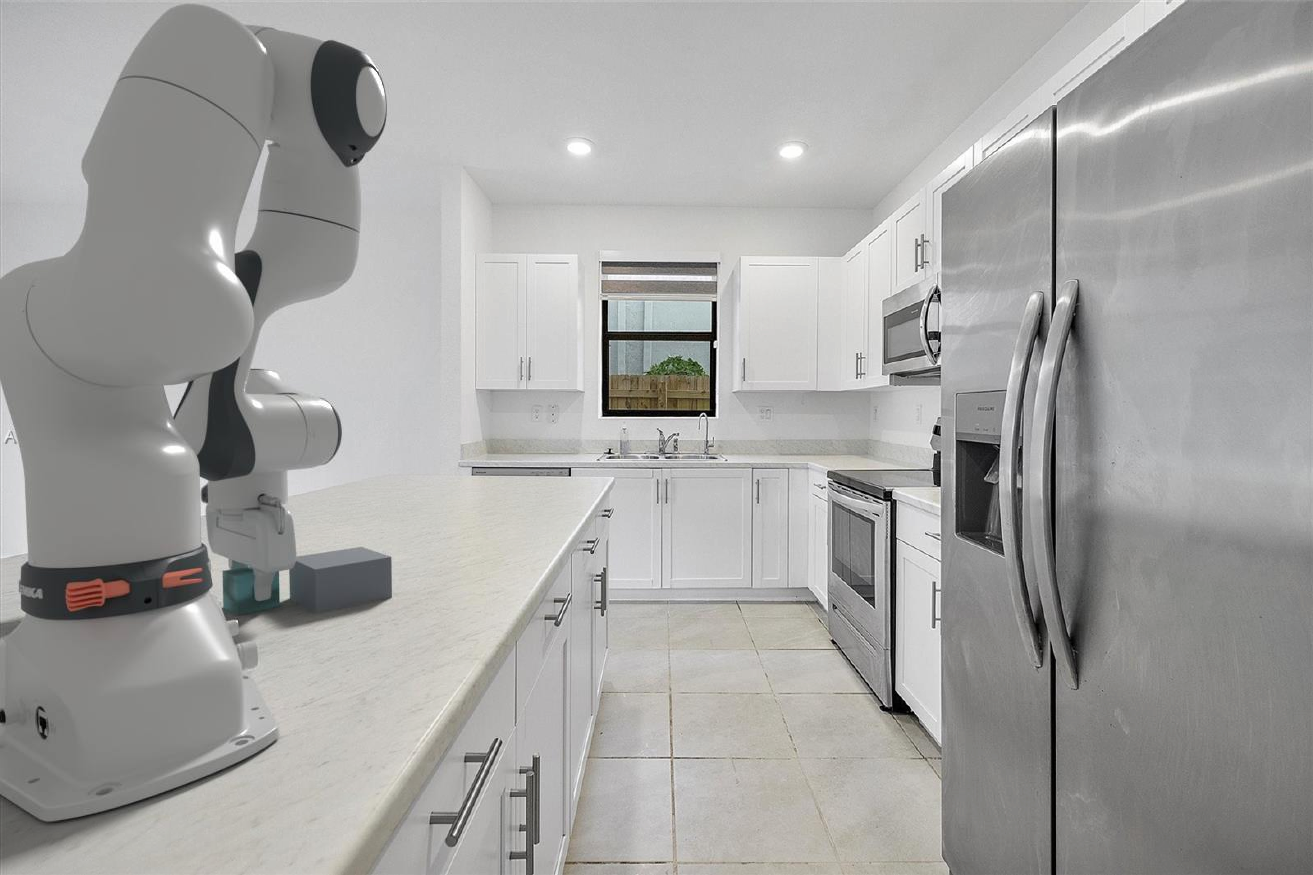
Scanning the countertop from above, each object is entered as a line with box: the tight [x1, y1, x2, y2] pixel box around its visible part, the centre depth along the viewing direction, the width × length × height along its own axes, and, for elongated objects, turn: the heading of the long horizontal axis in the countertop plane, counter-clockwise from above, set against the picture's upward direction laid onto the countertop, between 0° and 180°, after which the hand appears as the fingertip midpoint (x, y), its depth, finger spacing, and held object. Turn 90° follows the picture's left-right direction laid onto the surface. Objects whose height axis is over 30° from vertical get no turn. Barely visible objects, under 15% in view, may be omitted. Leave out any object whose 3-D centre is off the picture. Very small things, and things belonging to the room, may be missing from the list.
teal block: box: [222, 566, 281, 616], centre depth 85 cm, size 5×5×5 cm
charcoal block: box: [288, 546, 393, 615], centre depth 90 cm, size 10×10×6 cm
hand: (251, 595), depth 85 cm, fingers closed on teal block, 5 cm apart
